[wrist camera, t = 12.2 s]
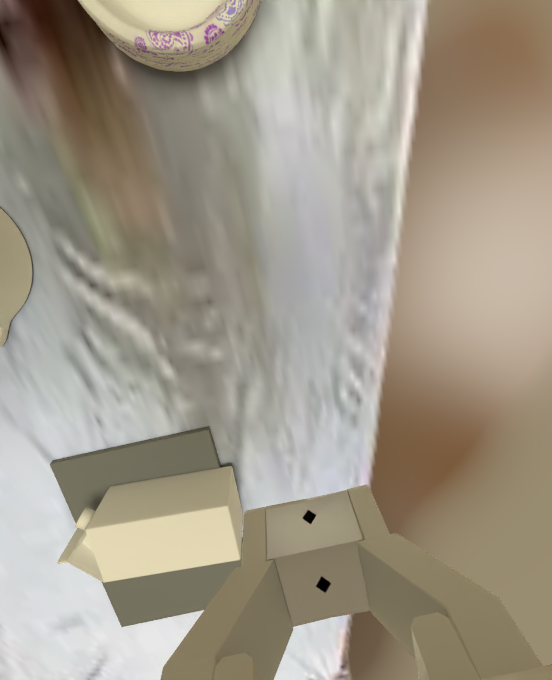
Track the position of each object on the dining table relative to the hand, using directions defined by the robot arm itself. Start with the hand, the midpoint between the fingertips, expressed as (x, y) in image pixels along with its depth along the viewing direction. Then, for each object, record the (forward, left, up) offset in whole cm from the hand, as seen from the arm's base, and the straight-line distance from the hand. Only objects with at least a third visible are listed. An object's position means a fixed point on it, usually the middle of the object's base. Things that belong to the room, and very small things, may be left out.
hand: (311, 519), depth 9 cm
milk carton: (-9, -23, -30) cm, 38 cm away
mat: (-20, -27, -34) cm, 48 cm away
